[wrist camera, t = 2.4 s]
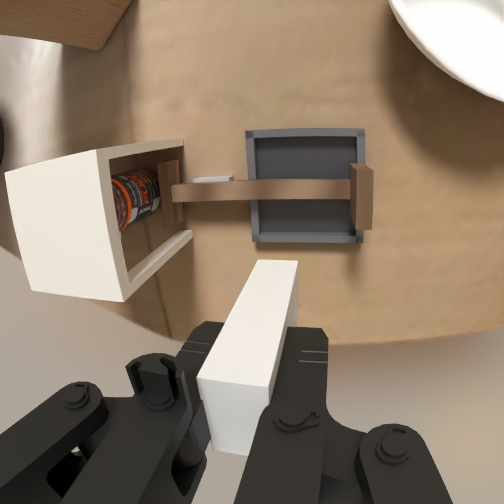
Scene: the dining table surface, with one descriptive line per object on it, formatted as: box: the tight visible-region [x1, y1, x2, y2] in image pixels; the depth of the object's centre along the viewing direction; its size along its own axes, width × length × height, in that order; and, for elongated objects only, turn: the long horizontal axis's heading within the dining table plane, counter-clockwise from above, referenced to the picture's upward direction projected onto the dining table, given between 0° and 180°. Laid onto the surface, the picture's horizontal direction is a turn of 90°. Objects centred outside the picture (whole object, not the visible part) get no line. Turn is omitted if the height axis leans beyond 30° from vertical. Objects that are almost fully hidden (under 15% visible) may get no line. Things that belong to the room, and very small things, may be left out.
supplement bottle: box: [111, 169, 161, 232], centre depth 32 cm, size 6×6×11 cm
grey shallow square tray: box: [245, 128, 365, 243], centre depth 33 cm, size 12×12×2 cm
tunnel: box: [5, 138, 233, 302], centre depth 29 cm, size 18×12×16 cm
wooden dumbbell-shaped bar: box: [157, 159, 373, 230], centre depth 30 cm, size 21×7×8 cm, turn 93°
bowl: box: [388, 0, 504, 102], centre depth 18 cm, size 22×22×8 cm
